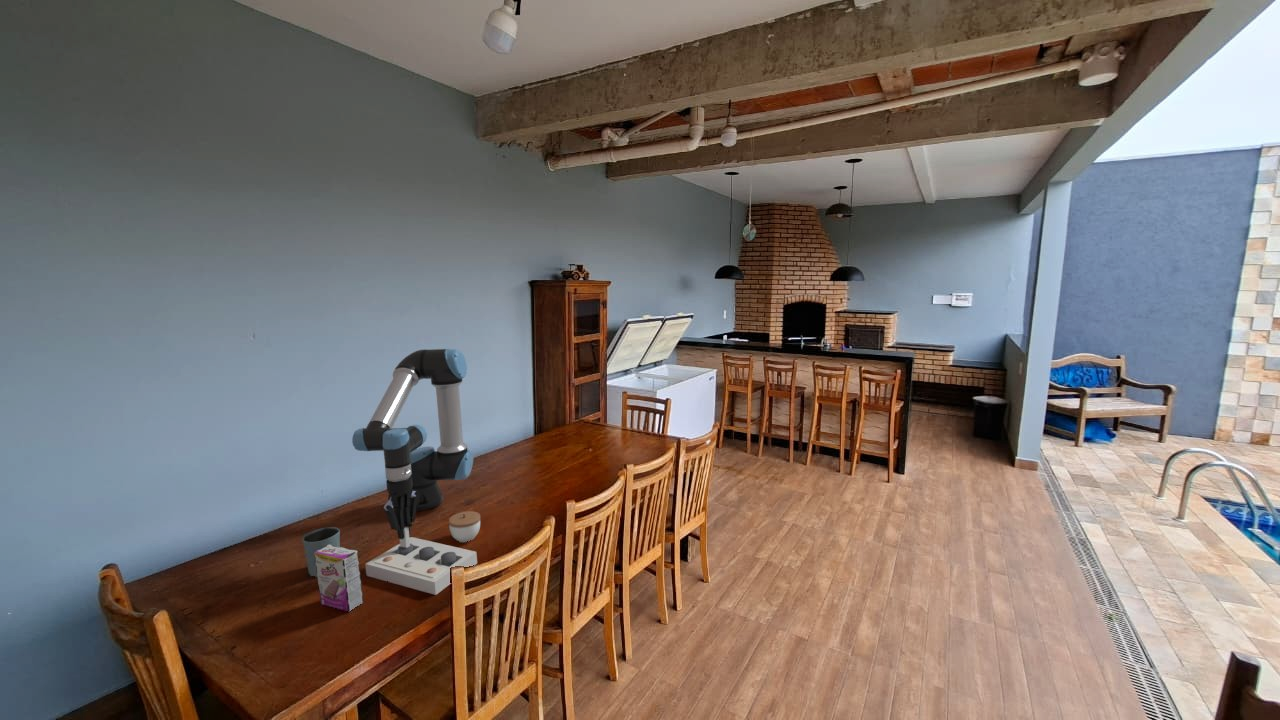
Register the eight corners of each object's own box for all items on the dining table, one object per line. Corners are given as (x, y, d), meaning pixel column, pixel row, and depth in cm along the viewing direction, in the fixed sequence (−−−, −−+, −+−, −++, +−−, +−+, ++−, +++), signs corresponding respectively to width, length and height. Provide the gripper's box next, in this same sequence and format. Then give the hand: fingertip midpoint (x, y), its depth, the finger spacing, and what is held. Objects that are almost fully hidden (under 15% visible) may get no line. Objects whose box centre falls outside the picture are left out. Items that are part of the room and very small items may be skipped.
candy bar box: (319, 606, 142) (312, 552, 140) (335, 595, 147) (329, 543, 144) (349, 613, 139) (342, 558, 136) (364, 603, 143) (358, 549, 141)
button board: (412, 547, 173) (410, 535, 173) (477, 563, 163) (476, 550, 162) (366, 575, 157) (365, 562, 156) (435, 595, 146) (434, 580, 146)
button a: (406, 550, 168) (405, 542, 167) (416, 553, 166) (415, 544, 165) (395, 557, 164) (394, 548, 163) (405, 559, 162) (405, 551, 161)
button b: (427, 554, 164) (426, 545, 164) (437, 556, 163) (436, 548, 162) (416, 561, 160) (415, 552, 160) (427, 563, 158) (426, 554, 158)
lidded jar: (471, 547, 173) (470, 521, 172) (443, 544, 175) (441, 519, 174) (487, 532, 184) (485, 508, 182) (460, 529, 186) (458, 505, 184)
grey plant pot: (304, 581, 154) (299, 545, 152) (308, 565, 163) (304, 531, 161) (342, 572, 159) (338, 537, 157) (344, 557, 168) (340, 523, 166)
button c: (448, 559, 161) (447, 550, 160) (459, 562, 159) (458, 553, 159) (438, 566, 157) (437, 557, 156) (449, 569, 155) (448, 560, 155)
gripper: (391, 486, 153) (397, 558, 157) (423, 471, 165) (429, 539, 169) (373, 483, 156) (379, 553, 160) (406, 469, 168) (412, 535, 171)
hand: (405, 546), depth 164 cm, fingers closed
